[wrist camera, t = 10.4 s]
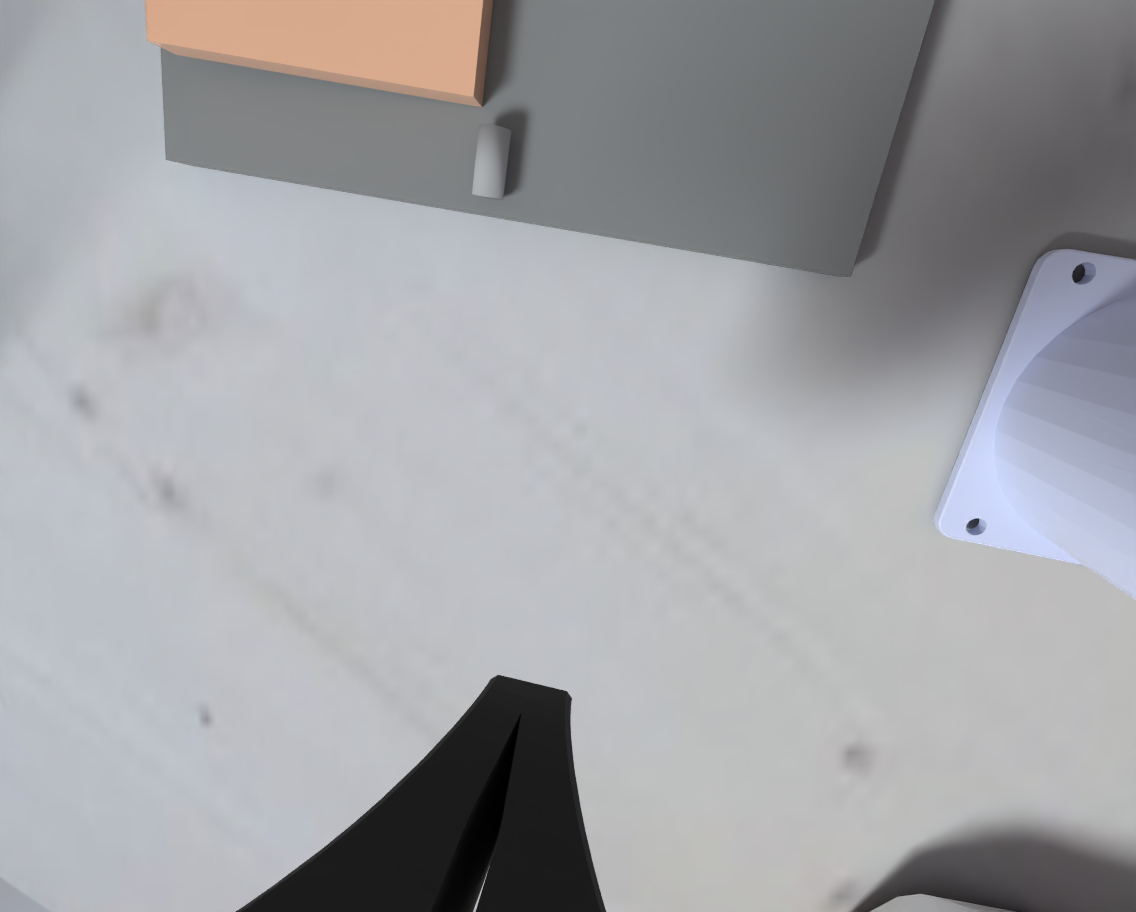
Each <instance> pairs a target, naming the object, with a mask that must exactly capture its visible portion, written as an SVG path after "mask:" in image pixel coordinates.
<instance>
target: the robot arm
mask: <svg viewBox="0 0 1136 912" xmlns="http://www.w3.org/2000/svg"><path fill="white" fill-rule="evenodd" d="M1080 264H1082V265H1083V266H1084V268H1085V275H1084V277H1083V278H1082V279H1081V281H1079V282H1077V283H1075V282H1074V281H1073V279H1072V273H1073V270H1074V269H1075V268H1076V266H1078V265H1080ZM975 518H979V524H978V525H977V526H976V527H975V528H973V529H969V530H966V525H967V524H968V522H969V521H970V520H972V519H975ZM934 523H935V526H936V528H937V529H938V530H939V531H940V532H941V533H942V534H944V535H945V536H947V537H950V538H953V539H958V540H963V541H968V542H973V543H978V544H982V545H987V546H992V547H997V548H1002V549H1007V550H1012V551H1017V552H1021V553H1026V554H1031V555H1036V556H1041V557H1046V558H1051V559H1056V560H1060V561H1065V562H1070V563H1075V564H1080V565H1085V566H1087V567H1088V568H1090V569H1091V570H1092V571H1094V572H1095V573H1097V574H1098V575H1100V576H1101V577H1103V578H1104V579H1106V580H1107V581H1109V582H1110V583H1111V584H1113V585H1114V586H1116V587H1117V588H1119V589H1120V590H1122V591H1123V592H1125V593H1126V594H1128V595H1129V596H1130V597H1132V598H1133V599H1135V600H1136V260H1135V259H1129V258H1123V257H1116V256H1110V255H1104V254H1098V253H1092V252H1085V251H1079V250H1073V249H1059V250H1052V251H1050V252H1047V253H1045V254H1044V255H1043V256H1041V257H1040V258H1039V259H1038V260H1037V262H1036V263H1035V265H1034V267H1033V269H1032V272H1031V274H1030V277H1029V279H1028V282H1027V284H1026V287H1025V289H1024V292H1023V294H1022V297H1021V299H1020V302H1019V304H1018V307H1017V309H1016V312H1015V314H1014V317H1013V319H1012V322H1011V324H1010V327H1009V329H1008V332H1007V334H1006V337H1005V340H1004V342H1003V345H1002V347H1001V350H1000V352H999V355H998V357H997V360H996V362H995V365H994V367H993V370H992V372H991V375H990V377H989V380H988V382H987V385H986V387H985V390H984V392H983V395H982V397H981V400H980V402H979V405H978V407H977V410H976V412H975V415H974V417H973V420H972V422H971V425H970V427H969V430H968V433H967V435H966V438H965V440H964V443H963V445H962V448H961V450H960V453H959V455H958V458H957V460H956V463H955V465H954V468H953V470H952V473H951V475H950V478H949V480H948V483H947V485H946V488H945V490H944V493H943V495H942V498H941V500H940V503H939V505H938V508H937V510H936V513H935V516H934ZM571 701H572V698H571V697H570V695H569V694H568V692H567V691H564V690H559V689H555V688H551V687H547V686H543V685H538V684H534V683H530V682H526V681H522V680H518V679H513V678H509V677H505V676H501V675H497V676H496V677H494V678H492V679H491V680H490V681H489V683H488V684H487V686H486V687H485V689H484V690H483V691H482V693H481V694H480V695H479V697H478V698H477V699H476V700H475V702H474V703H473V704H472V705H471V707H470V708H469V709H468V710H467V711H466V713H465V714H464V715H463V716H462V717H461V718H460V720H459V721H458V722H457V723H456V724H455V725H454V726H453V728H452V729H451V730H450V731H449V732H448V733H447V734H446V735H445V736H444V737H443V738H442V739H441V740H440V742H439V743H438V744H437V745H436V746H435V747H434V748H433V749H432V750H431V751H430V752H429V753H428V754H427V755H426V756H425V757H424V759H423V760H422V761H421V762H420V763H419V764H418V765H417V766H416V767H414V768H413V769H412V770H411V771H410V772H409V773H408V774H407V775H406V776H405V777H404V778H403V779H402V780H401V781H400V782H399V783H398V784H397V785H396V786H394V787H393V788H392V789H391V790H390V791H389V792H388V793H387V794H386V795H385V796H384V797H383V798H382V799H381V800H380V801H379V802H377V803H376V804H375V805H374V806H373V807H372V808H371V809H370V810H368V811H367V812H366V813H365V814H364V815H363V816H362V817H360V818H359V819H358V820H357V821H356V822H354V823H353V824H352V825H351V826H350V827H349V828H347V829H346V830H345V831H344V832H342V833H341V834H340V835H339V836H338V837H336V838H335V839H334V840H333V841H331V842H330V843H329V844H328V845H326V846H325V847H324V848H323V849H321V850H320V851H319V852H318V853H316V854H315V855H314V856H312V857H311V858H310V859H308V860H307V861H306V862H304V863H303V864H302V865H300V866H299V867H298V868H296V869H295V870H294V871H292V872H291V873H290V874H288V875H287V876H286V877H284V878H283V879H282V880H280V881H279V882H278V883H276V884H275V885H274V886H272V887H271V888H269V889H268V890H267V891H265V892H264V893H262V894H261V895H259V896H258V897H257V898H255V899H254V900H252V901H251V902H249V903H248V904H247V905H245V906H244V907H242V908H241V909H239V910H238V911H236V912H473V910H474V907H475V904H476V902H477V899H478V896H479V893H480V891H481V888H482V885H483V882H484V879H485V877H486V880H485V883H484V886H483V890H482V893H481V896H480V899H479V903H478V906H477V909H476V912H606V910H605V906H604V903H603V900H602V896H601V892H600V889H599V885H598V881H597V878H596V874H595V870H594V866H593V862H592V858H591V853H590V849H589V845H588V840H587V836H586V832H585V827H584V822H583V817H582V812H581V807H580V801H579V795H578V789H577V783H576V777H575V770H574V762H573V753H572V742H571V727H570V714H571ZM488 868H489V870H488ZM487 871H488V873H487ZM486 874H487V876H486Z"/></svg>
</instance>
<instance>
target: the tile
mask: <svg viewBox="0 0 1136 912" xmlns="http://www.w3.org/2000/svg"><path fill="white" fill-rule="evenodd" d="M145 6H146V25H147V41H149V42H151V43H153V44H155V45H157V46H159V47H161V48H163V49H165V50H167V51H170V52H172V53H174V54H176V55H181V56H186V57H192V58H198V59H204V60H210V61H215V62H221V63H227V64H233V65H239V66H245V67H250V68H256V69H262V70H268V71H274V72H279V73H285V74H291V75H297V76H303V77H308V78H314V79H320V80H326V81H332V82H337V83H343V84H349V85H355V86H361V87H367V88H372V89H378V90H384V91H390V92H396V93H401V94H407V95H413V96H419V97H425V98H430V99H436V100H442V101H448V102H454V103H460V104H465V105H471V106H477V107H482V103H483V94H484V84H485V75H486V65H487V56H488V46H489V37H490V27H491V18H492V8H493V0H145Z"/></svg>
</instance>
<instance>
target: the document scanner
mask: <svg viewBox="0 0 1136 912" xmlns="http://www.w3.org/2000/svg"><path fill="white" fill-rule="evenodd" d="M870 912H1015V911H1009V910H1004V909H999V908H993V907H988V906H983V905H977V904H972V903H967V902H962V901H956V900H951V899H946V898H940V897H935V896H930V895H924V894H916V895H908V896H899V897H896V898H894V899H892V900H890V901H889V902H887V903H885V904H883V905H881V906H879V907H878V908H876V909H874V910H872V911H870Z"/></svg>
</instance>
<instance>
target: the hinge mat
mask: <svg viewBox="0 0 1136 912" xmlns="http://www.w3.org/2000/svg"><path fill="white" fill-rule="evenodd" d="M934 2H935V0H493V8H492V18H491V27H490V37H489V46H488V56H487V65H486V75H485V84H484V94H483V103H482V107H477V106H471V105H465V104H460V103H454V102H448V101H442V100H436V99H430V98H425V97H419V96H413V95H407V94H401V93H396V92H390V91H384V90H378V89H372V88H367V87H361V86H355V85H349V84H343V83H337V82H332V81H326V80H320V79H314V78H308V77H303V76H297V75H291V74H285V73H279V72H274V71H268V70H262V69H256V68H250V67H245V66H239V65H233V64H227V63H221V62H215V61H210V60H204V59H198V58H192V57H186V56H181V55H176V54H174V53H172V52H170V51H167V50H165V49H163V48H161V64H162V86H163V107H164V129H165V150H166V160H170V161H174V162H178V163H183V164H187V165H191V166H197V167H203V168H209V169H214V170H220V171H226V172H232V173H238V174H244V175H249V176H255V177H261V178H267V179H273V180H279V181H285V182H290V183H296V184H302V185H308V186H314V187H320V188H325V189H331V190H337V191H343V192H349V193H355V194H361V195H366V196H372V197H378V198H384V199H390V200H396V201H401V202H407V203H413V204H419V205H425V206H431V207H437V208H442V209H448V210H454V211H460V212H466V213H472V214H477V215H483V216H489V217H495V218H501V219H507V220H513V221H518V222H524V223H530V224H536V225H542V226H548V227H553V228H559V229H565V230H571V231H577V232H583V233H589V234H594V235H600V236H606V237H612V238H618V239H624V240H629V241H635V242H641V243H647V244H653V245H659V246H665V247H670V248H676V249H682V250H688V251H694V252H700V253H705V254H711V255H717V256H723V257H729V258H735V259H740V260H746V261H752V262H758V263H764V264H770V265H776V266H781V267H787V268H793V269H799V270H805V271H811V272H816V273H822V274H828V275H834V276H845V277H851V274H852V271H853V267H854V264H855V261H856V258H857V254H858V251H859V248H860V244H861V241H862V238H863V235H864V231H865V228H866V225H867V222H868V218H869V215H870V212H871V208H872V205H873V202H874V199H875V195H876V192H877V189H878V186H879V182H880V179H881V176H882V172H883V169H884V166H885V163H886V159H887V156H888V153H889V149H890V146H891V143H892V140H893V136H894V133H895V130H896V127H897V123H898V120H899V117H900V113H901V110H902V107H903V104H904V100H905V97H906V94H907V90H908V87H909V84H910V81H911V77H912V74H913V71H914V68H915V64H916V61H917V58H918V54H919V51H920V48H921V45H922V41H923V38H924V35H925V32H926V28H927V25H928V22H929V18H930V15H931V12H932V9H933V5H934Z"/></svg>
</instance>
